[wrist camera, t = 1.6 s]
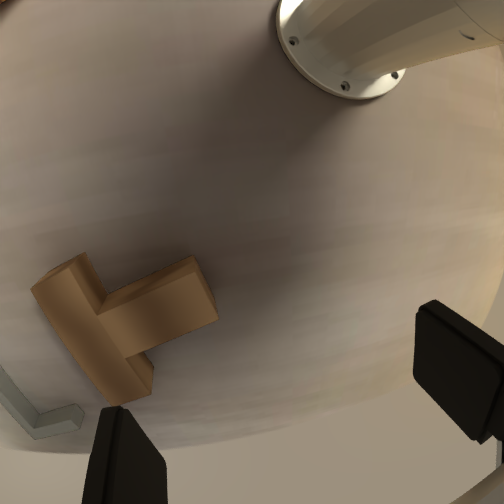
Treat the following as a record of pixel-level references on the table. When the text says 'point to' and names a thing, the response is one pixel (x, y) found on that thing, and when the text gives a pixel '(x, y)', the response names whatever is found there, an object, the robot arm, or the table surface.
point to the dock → (30, 419)
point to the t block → (123, 320)
